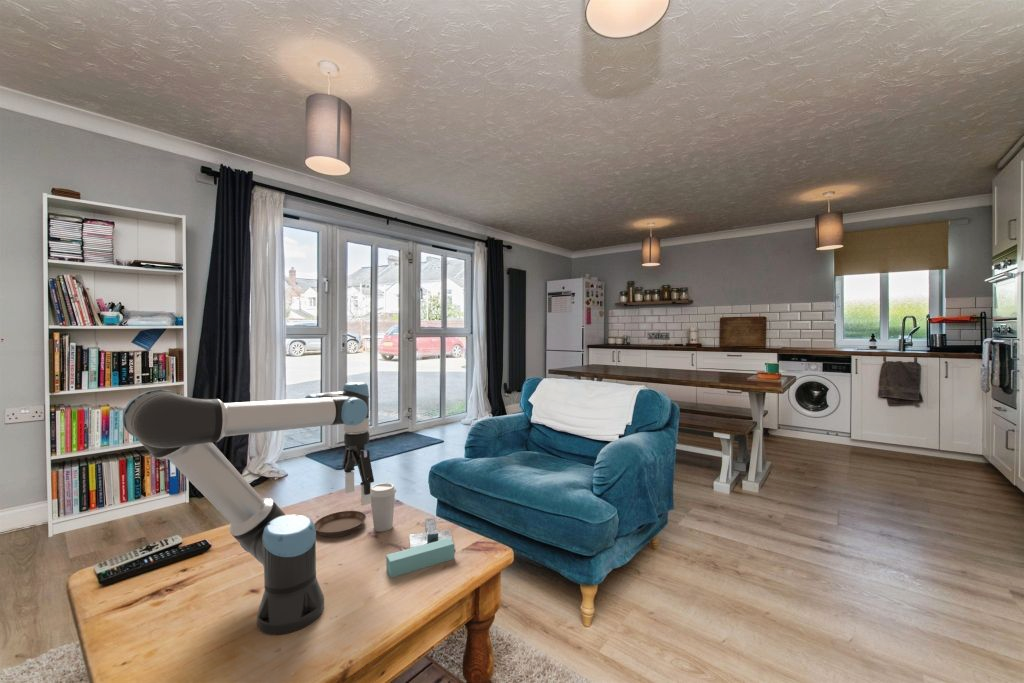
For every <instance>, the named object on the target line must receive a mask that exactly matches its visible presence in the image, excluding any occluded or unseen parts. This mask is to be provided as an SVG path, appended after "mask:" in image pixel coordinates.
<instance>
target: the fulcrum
mask: <svg viewBox="0 0 1024 683" xmlns="http://www.w3.org/2000/svg"><path fill="white" fill-rule="evenodd" d="M447 538H449V539H450V540H451V541H452V542H453V543H454V540H453V539H454V538H453V535H452V532H451V529H443V530H438V526H437V521H436V518H435V517H431V518H425V519H424V532H419V533H411V534H409V547H410V548H413V547H417V546H421V545H424V544H428V543H432V542H436V541H439V540H443V539H447ZM410 548H409V549H410ZM455 551H456V546H455V545H454V552H455Z"/></svg>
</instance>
